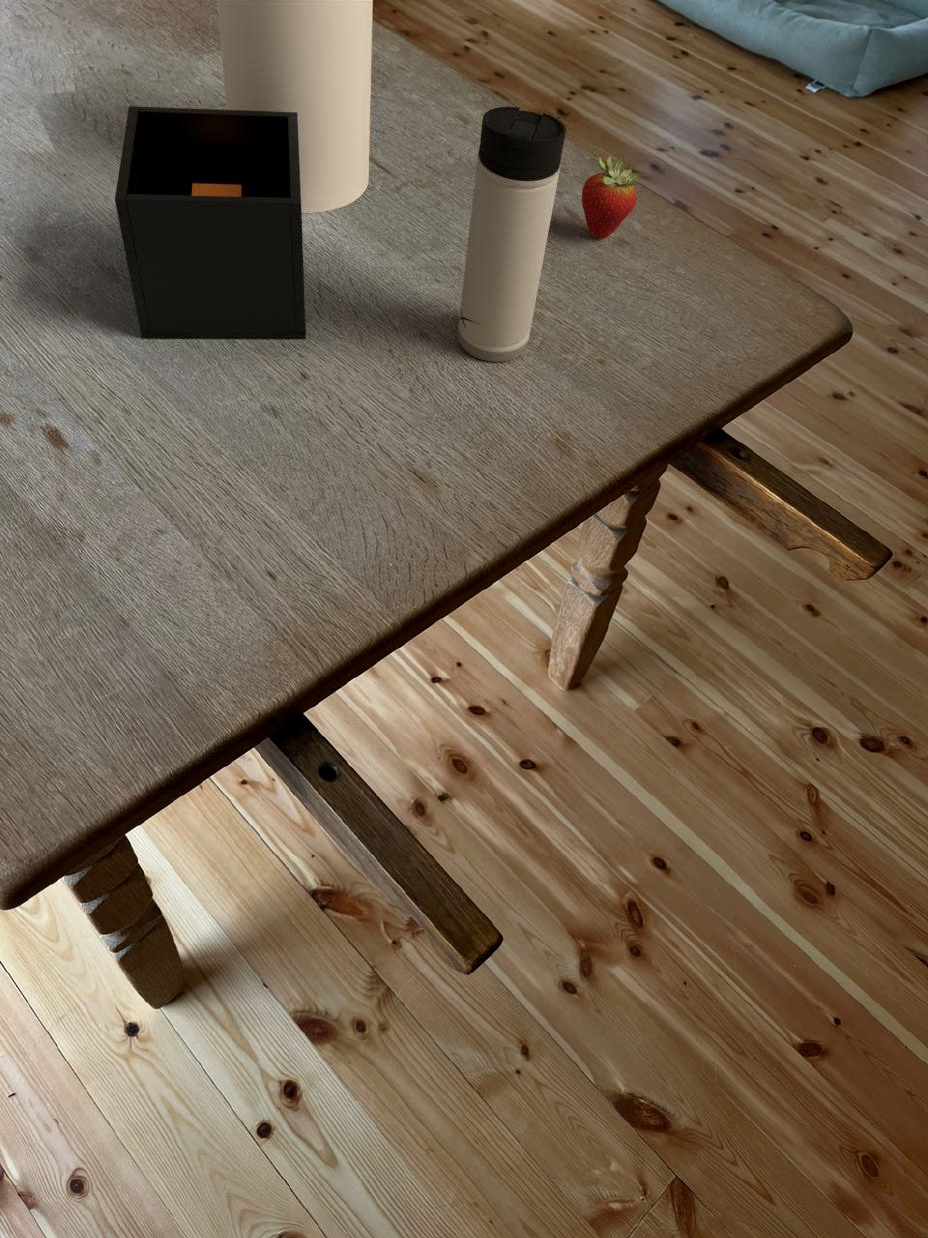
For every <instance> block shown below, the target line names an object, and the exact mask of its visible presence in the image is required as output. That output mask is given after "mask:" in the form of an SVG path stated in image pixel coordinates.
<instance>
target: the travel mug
mask: <svg viewBox="0 0 928 1238" xmlns="http://www.w3.org/2000/svg"><path fill="white" fill-rule="evenodd" d="M566 133H567V128H566V126H565V124H564V123H563V121H561V120H560V119H559V118H557V117H555V116H553V115H551V114H548V113H546V112H543V113H542V114H540V113H537V112H533V111H529V110H520V106H510V105H509V106H500V107H494V108H491V109H489V110H487V111H486V112H484V114H483V116H482V119H481V128H480V138H479V141H480V143H479V147H478V152H477V157H476V158H477V159H476V160H477V162H476V167H475V175H474V176H475V177H474V183H473V184H474V185H473V195H472V203H471V211H470V219H469V227H468V228H469V230H468V238H467V245H466V254H465V255H466V256H465V264H464V272H463V273H464V274H463V281H462V282H463V283H462V290H461V291H462V292H461V299H460V309H459V319H458V324H457V325H458V326H457V340H458V342H459V345H460V346H461V347H462V349H463V350H464V351H465V352H466V353H467V354H469V355H470V356H472V357H474V358H477V359H480V360H483V361H485V362H492V363H493V362H496V363H500V362H501V363H502V362H507V361H512V360H515V359H517V358H518V357H520V356H521V355H523V353H525V351H526V350H527V348H528V345H529V339H530V335H531V330H532V324H533V319H534V312H535V307H536V301H537V297H538V291H539V285H540V280H541V275H542V269H543V264H544V263H543V262H544V258H545V252H546V246H547V241H548V236H549V230H550V226H551V221H552V220H551V219H552V214H553V209H554V203H555V198H556V192H557V188H558V187H557V186H558V181H559V175H560V171H561V166H562V165H561V164H562V163H561V160H562V155H563V151H564V144H565V138H566Z"/></svg>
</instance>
